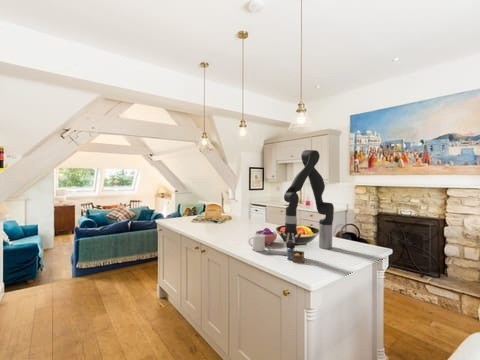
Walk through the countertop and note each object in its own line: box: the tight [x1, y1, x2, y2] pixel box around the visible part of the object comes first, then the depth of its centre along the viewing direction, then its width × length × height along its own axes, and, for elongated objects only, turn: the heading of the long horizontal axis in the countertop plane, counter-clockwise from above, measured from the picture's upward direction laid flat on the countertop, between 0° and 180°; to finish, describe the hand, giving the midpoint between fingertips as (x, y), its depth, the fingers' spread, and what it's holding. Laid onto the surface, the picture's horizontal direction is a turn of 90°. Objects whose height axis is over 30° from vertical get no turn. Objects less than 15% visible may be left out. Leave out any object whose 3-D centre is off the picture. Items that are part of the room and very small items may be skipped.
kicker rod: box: [286, 239, 296, 260], centre depth 166 cm, size 12×5×9 cm, turn 165°
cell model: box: [255, 227, 278, 245], centre depth 199 cm, size 17×20×11 cm
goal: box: [292, 250, 305, 264], centre depth 160 cm, size 10×6×4 cm, turn 165°
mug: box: [248, 233, 266, 252], centre depth 181 cm, size 12×8×10 cm
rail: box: [267, 247, 298, 257], centre depth 171 cm, size 3×19×3 cm, turn 75°
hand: (290, 248), depth 169 cm, fingers closed on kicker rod, 3 cm apart
